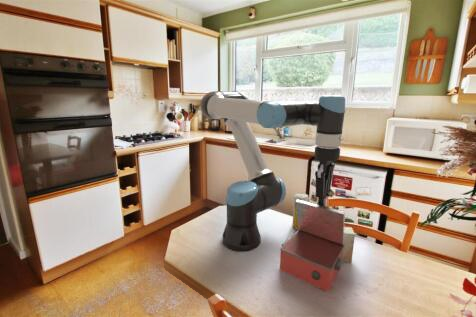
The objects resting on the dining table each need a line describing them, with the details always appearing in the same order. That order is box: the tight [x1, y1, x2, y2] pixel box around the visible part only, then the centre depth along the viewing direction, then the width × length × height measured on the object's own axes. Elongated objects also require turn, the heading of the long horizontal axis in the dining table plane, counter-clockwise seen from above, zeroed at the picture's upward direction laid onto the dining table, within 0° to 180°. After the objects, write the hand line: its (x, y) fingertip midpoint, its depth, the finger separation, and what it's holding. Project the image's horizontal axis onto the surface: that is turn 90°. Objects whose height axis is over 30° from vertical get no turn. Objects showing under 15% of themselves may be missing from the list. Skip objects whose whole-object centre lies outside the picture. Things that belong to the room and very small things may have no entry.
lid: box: [296, 199, 346, 245], centre depth 83 cm, size 16×14×2 cm
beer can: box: [292, 192, 310, 230], centre depth 107 cm, size 6×6×15 cm
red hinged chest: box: [279, 229, 344, 293], centre depth 82 cm, size 19×15×8 cm
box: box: [342, 226, 356, 264], centre depth 87 cm, size 5×4×11 cm
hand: (320, 214), depth 84 cm, fingers closed
